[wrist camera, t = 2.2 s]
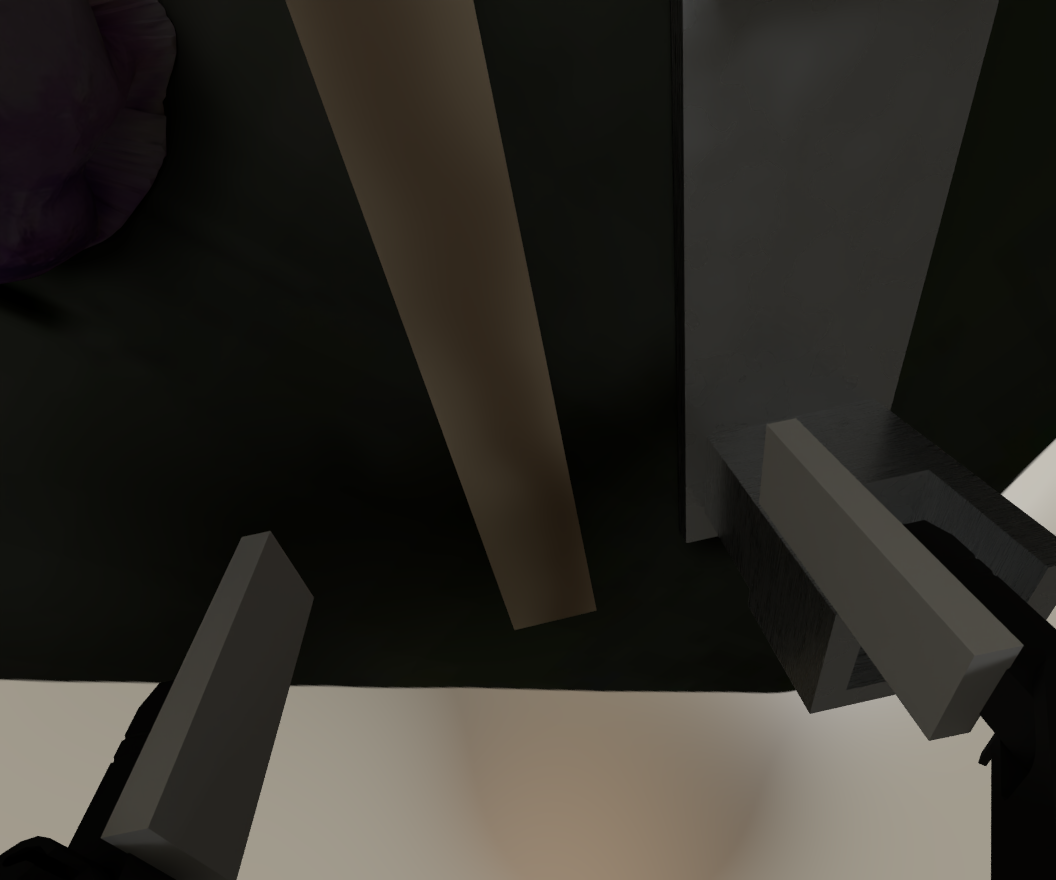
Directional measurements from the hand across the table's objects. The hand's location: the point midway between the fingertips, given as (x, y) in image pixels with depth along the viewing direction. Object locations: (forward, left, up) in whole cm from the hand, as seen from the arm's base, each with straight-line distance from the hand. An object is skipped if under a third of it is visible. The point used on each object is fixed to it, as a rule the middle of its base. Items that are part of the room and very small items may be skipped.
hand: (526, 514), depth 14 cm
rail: (0, 0, -10) cm, 10 cm away
